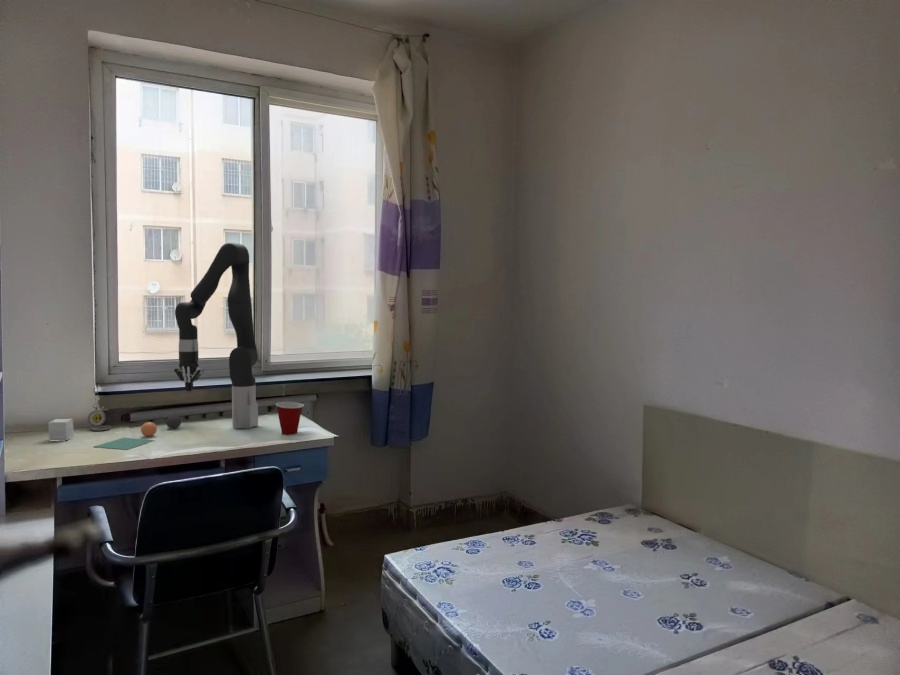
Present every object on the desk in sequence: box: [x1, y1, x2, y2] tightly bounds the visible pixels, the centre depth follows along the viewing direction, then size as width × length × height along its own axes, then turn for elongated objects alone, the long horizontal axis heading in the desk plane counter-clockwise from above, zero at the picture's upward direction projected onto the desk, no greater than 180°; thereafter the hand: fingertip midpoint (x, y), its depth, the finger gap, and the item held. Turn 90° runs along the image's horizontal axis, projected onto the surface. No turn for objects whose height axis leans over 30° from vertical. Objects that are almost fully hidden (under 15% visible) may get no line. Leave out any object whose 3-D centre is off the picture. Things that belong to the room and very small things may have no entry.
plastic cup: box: [275, 401, 305, 435], centre depth 236 cm, size 11×11×12 cm
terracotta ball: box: [140, 421, 158, 437], centre depth 229 cm, size 6×6×6 cm
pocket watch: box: [87, 403, 112, 432], centre depth 240 cm, size 8×8×10 cm
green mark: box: [93, 437, 155, 451], centre depth 218 cm, size 14×14×1 cm
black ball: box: [165, 414, 182, 429], centre depth 243 cm, size 6×6×6 cm
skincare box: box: [47, 418, 75, 442], centre depth 223 cm, size 6×6×7 cm
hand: (189, 391), depth 252 cm, fingers closed
